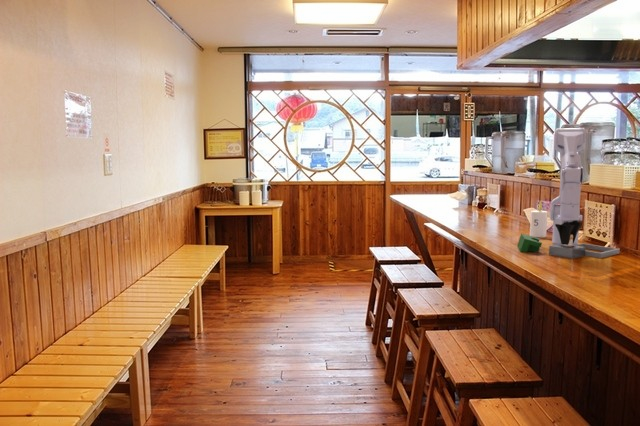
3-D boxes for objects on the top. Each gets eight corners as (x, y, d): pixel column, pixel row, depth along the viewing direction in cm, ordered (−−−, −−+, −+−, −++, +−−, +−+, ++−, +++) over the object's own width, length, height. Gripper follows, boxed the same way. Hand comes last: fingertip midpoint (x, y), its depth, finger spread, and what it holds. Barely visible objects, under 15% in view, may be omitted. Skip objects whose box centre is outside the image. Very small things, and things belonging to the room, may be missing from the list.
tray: (582, 249, 180) (582, 243, 179) (619, 256, 169) (619, 249, 169) (563, 254, 172) (563, 247, 172) (600, 260, 162) (601, 253, 162)
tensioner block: (561, 254, 172) (562, 243, 172) (584, 258, 166) (585, 246, 165) (548, 257, 168) (549, 245, 167) (571, 261, 161) (572, 249, 161)
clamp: (533, 267, 173) (542, 246, 168) (516, 261, 174) (524, 241, 169) (533, 248, 182) (542, 228, 177) (517, 243, 184) (525, 223, 179)
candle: (527, 236, 208) (529, 200, 206) (532, 234, 212) (534, 199, 210) (543, 238, 203) (545, 201, 201) (548, 235, 208) (550, 200, 206)
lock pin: (564, 253, 169) (566, 233, 168) (573, 255, 166) (575, 234, 165) (559, 254, 167) (561, 234, 166) (568, 256, 164) (570, 235, 164)
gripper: (568, 201, 172) (566, 239, 174) (547, 203, 163) (544, 244, 165) (589, 202, 166) (587, 242, 168) (568, 205, 158) (565, 247, 159)
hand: (567, 243), depth 166 cm, fingers closed on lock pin, 3 cm apart
